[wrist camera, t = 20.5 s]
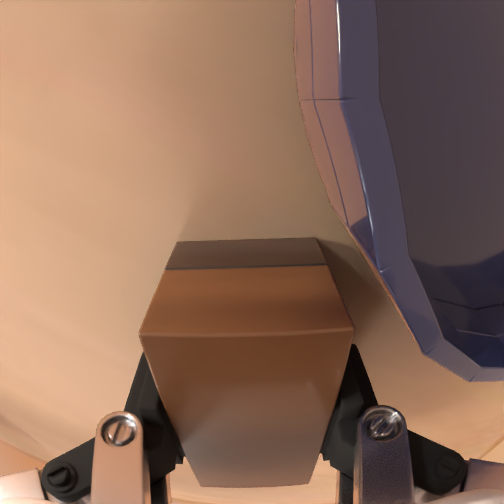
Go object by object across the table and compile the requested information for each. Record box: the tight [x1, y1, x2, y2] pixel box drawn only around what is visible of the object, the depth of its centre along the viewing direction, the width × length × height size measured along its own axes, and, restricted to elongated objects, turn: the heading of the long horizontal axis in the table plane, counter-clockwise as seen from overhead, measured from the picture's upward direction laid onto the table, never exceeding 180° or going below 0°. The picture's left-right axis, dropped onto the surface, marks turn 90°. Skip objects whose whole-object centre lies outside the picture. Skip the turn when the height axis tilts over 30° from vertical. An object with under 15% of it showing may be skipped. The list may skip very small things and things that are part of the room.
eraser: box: [139, 238, 355, 488], centre depth 9 cm, size 8×4×4 cm, turn 2°
